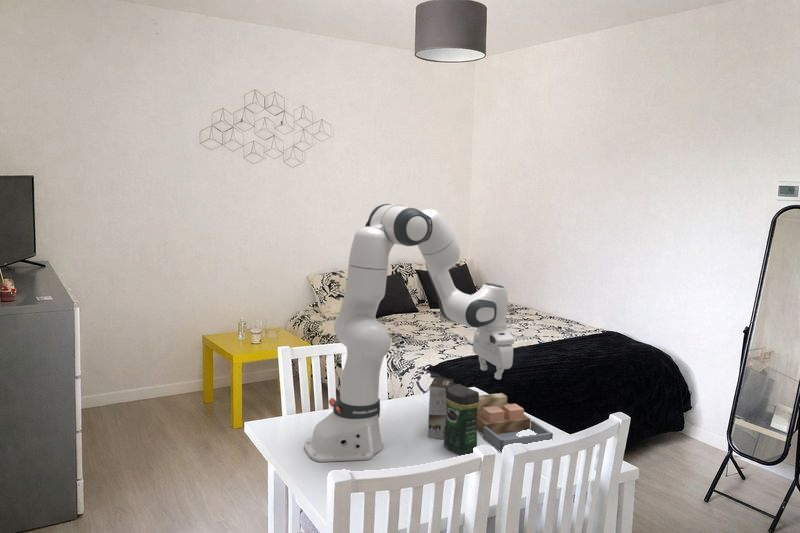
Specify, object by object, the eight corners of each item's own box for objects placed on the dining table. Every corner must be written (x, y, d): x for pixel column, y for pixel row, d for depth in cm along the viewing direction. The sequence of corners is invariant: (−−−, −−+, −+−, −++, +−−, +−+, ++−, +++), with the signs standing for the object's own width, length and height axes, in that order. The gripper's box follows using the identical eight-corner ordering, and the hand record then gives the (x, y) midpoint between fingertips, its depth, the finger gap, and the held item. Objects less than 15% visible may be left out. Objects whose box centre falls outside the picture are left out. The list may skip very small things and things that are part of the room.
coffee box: (448, 439, 190) (450, 388, 188) (427, 437, 192) (429, 386, 189) (451, 428, 199) (454, 378, 197) (431, 425, 200) (433, 376, 198)
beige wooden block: (474, 410, 204) (474, 400, 203) (469, 406, 207) (469, 396, 206) (506, 406, 208) (507, 396, 208) (501, 403, 211) (501, 393, 211)
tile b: (509, 420, 197) (510, 410, 196) (501, 414, 201) (502, 405, 201) (523, 418, 199) (524, 409, 198) (515, 412, 203) (515, 403, 203)
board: (485, 436, 193) (485, 424, 193) (462, 418, 207) (463, 407, 206) (529, 430, 199) (530, 418, 198) (505, 413, 213) (506, 402, 212)
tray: (500, 452, 183) (501, 440, 182) (483, 437, 193) (483, 426, 192) (552, 444, 189) (552, 433, 189) (532, 430, 199) (533, 420, 199)
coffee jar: (481, 451, 183) (484, 389, 180) (460, 457, 178) (463, 394, 176) (459, 439, 191) (462, 380, 188) (439, 445, 186) (441, 384, 183)
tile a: (489, 422, 194) (490, 413, 194) (482, 416, 199) (482, 407, 198) (504, 420, 196) (504, 411, 196) (496, 414, 201) (496, 405, 200)
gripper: (468, 325, 212) (467, 365, 214) (499, 341, 193) (497, 385, 196) (485, 324, 215) (483, 363, 217) (517, 340, 196) (515, 383, 198)
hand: (490, 374), depth 206 cm, fingers open, 8 cm apart
